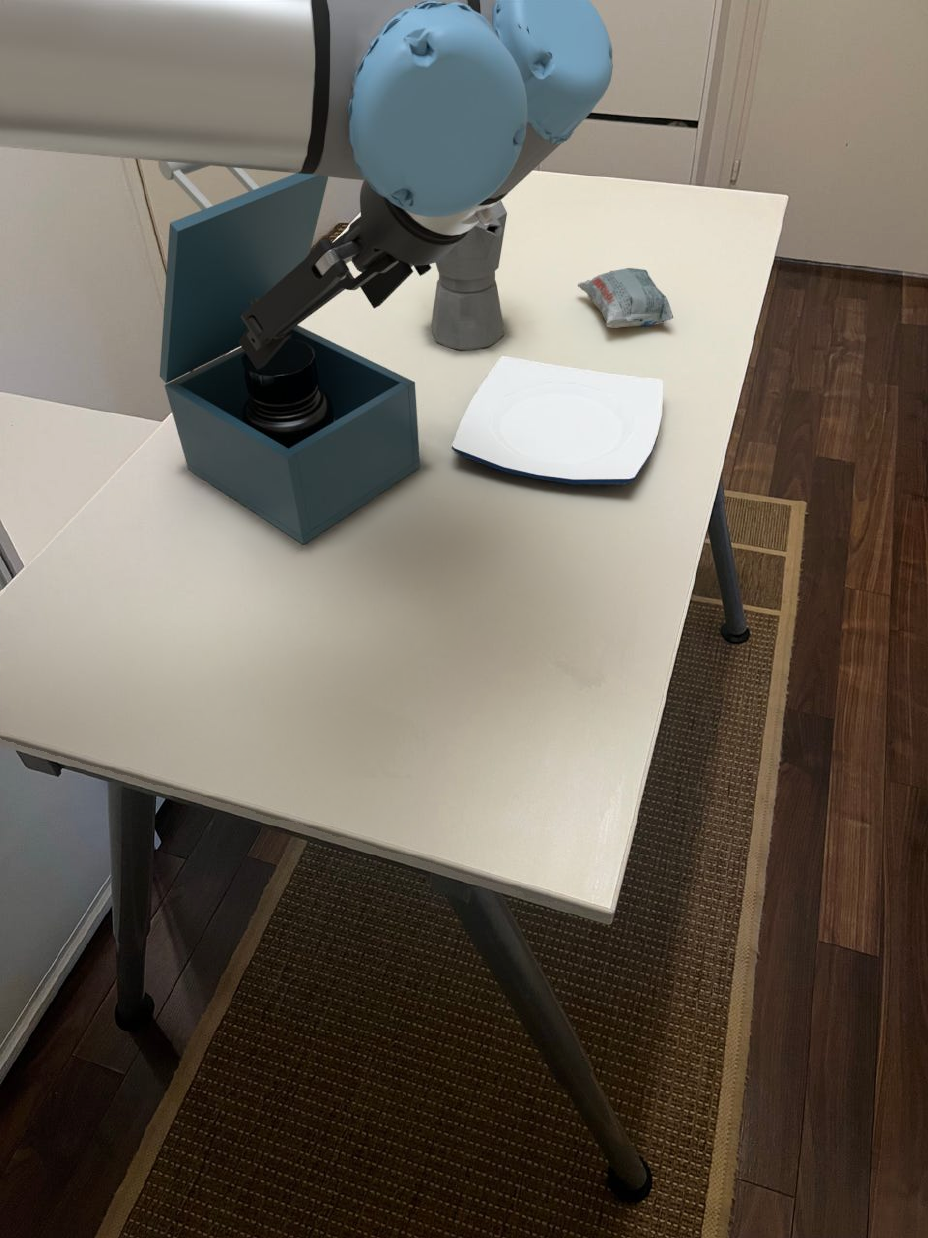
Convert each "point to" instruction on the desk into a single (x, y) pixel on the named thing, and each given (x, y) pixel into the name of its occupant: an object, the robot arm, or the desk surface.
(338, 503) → the chest
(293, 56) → the robot arm
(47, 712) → the desk surface
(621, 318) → the packaged food
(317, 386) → the ink bottle
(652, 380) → the plate
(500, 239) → the coffeepot
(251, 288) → the lid
